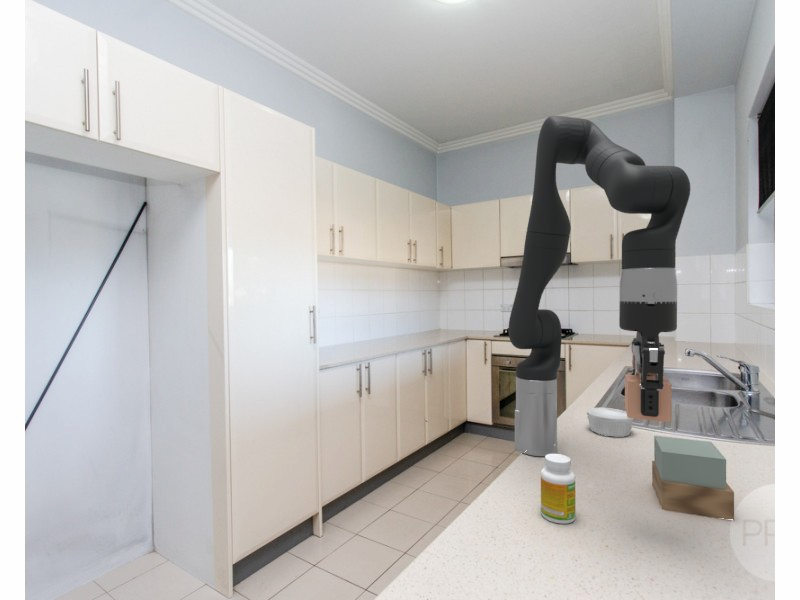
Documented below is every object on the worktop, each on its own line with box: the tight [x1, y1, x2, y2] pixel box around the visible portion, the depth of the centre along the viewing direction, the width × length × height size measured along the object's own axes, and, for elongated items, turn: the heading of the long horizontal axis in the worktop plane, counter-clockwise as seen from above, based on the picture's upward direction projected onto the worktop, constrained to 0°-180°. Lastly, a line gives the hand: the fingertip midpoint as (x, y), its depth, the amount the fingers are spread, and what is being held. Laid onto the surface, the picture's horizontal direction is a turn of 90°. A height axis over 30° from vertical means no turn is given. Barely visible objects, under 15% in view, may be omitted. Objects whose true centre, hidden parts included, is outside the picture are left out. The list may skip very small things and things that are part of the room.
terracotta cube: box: [624, 374, 673, 423], centre depth 64 cm, size 6×6×6 cm
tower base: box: [651, 460, 735, 521], centre depth 75 cm, size 10×10×5 cm
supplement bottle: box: [540, 453, 576, 525], centre depth 70 cm, size 5×5×10 cm
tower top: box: [653, 435, 727, 490], centre depth 75 cm, size 9×9×5 cm
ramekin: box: [586, 407, 635, 438], centre depth 113 cm, size 11×11×5 cm
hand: (646, 409), depth 64 cm, fingers closed on terracotta cube, 5 cm apart
